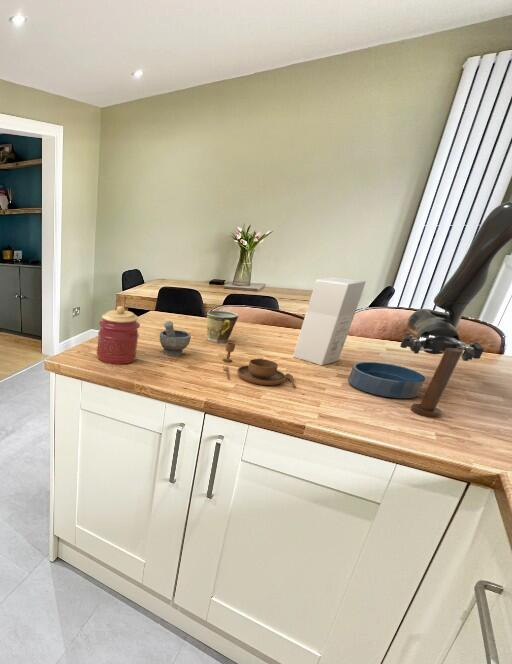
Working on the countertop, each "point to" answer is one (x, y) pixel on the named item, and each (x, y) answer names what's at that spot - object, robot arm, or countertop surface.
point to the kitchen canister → (118, 336)
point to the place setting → (258, 370)
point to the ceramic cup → (220, 325)
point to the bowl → (386, 379)
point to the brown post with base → (438, 384)
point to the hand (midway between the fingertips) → (442, 353)
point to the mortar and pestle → (173, 340)
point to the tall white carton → (328, 319)
